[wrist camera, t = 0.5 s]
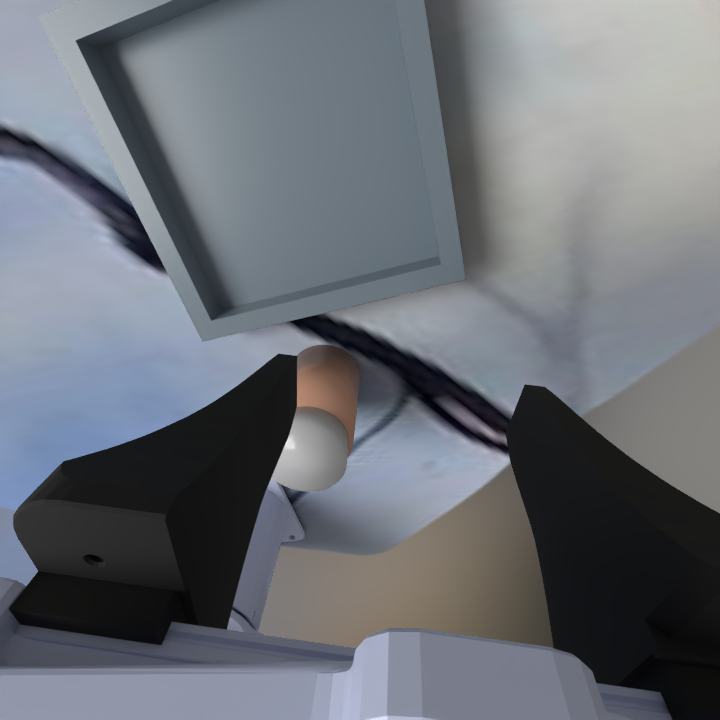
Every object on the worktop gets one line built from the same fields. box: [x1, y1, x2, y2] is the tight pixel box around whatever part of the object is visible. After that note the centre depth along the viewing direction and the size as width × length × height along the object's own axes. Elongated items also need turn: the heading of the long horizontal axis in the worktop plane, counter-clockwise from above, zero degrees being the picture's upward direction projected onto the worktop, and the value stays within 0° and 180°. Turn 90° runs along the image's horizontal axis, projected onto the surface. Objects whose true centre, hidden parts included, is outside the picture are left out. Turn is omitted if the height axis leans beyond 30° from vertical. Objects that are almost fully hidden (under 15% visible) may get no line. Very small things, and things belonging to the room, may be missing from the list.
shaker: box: [272, 345, 360, 491], centre depth 22 cm, size 4×4×8 cm
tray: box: [38, 0, 466, 341], centre depth 18 cm, size 14×14×2 cm
